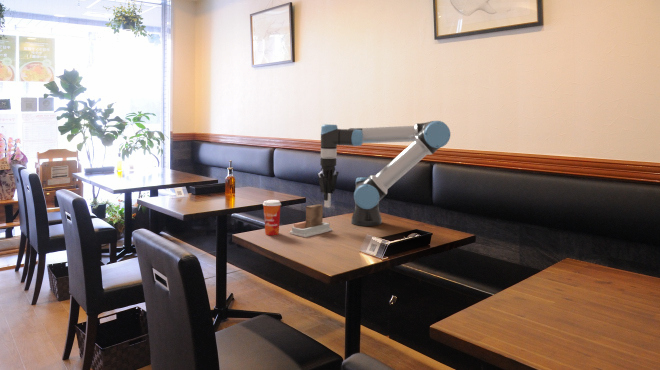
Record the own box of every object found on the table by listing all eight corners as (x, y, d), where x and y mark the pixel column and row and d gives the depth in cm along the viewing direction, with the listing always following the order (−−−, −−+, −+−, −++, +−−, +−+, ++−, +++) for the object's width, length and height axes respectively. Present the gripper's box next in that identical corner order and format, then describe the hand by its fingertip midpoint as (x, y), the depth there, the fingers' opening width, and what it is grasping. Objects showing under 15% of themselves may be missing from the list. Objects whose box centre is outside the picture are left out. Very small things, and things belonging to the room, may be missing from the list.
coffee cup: (259, 234, 217) (259, 201, 215) (268, 231, 225) (268, 199, 223) (276, 236, 214) (276, 203, 212) (284, 232, 222) (284, 200, 219)
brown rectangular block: (310, 231, 221) (310, 207, 220) (305, 230, 223) (306, 206, 222) (322, 228, 227) (322, 205, 226) (317, 227, 229) (317, 204, 228)
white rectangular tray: (316, 226, 234) (316, 217, 233) (332, 230, 228) (332, 221, 227) (289, 233, 221) (289, 223, 220) (305, 237, 214) (305, 227, 213)
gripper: (331, 156, 235) (330, 204, 239) (313, 157, 225) (312, 207, 229) (343, 157, 230) (342, 206, 234) (325, 158, 220) (323, 210, 224)
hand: (327, 206), depth 231 cm, fingers closed
